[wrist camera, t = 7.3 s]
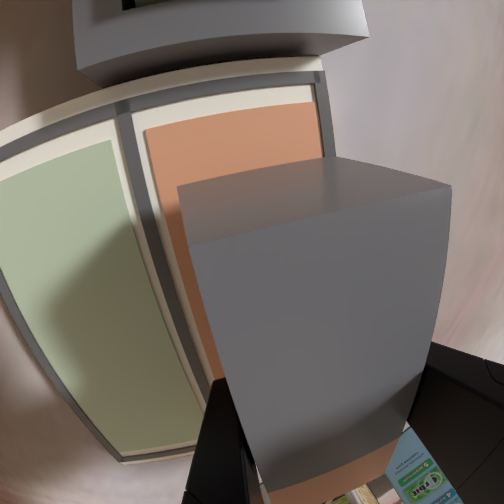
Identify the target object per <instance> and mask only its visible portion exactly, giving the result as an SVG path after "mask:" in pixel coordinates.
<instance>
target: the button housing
mask: <svg viewBox="0 0 504 504" xmlns="http://www.w3.org/2000/svg"><path fill="white" fill-rule="evenodd" d="M72 18H73V34H74V46H75V56H76V65H77V70H78V71H79V72H81V73H82V74H83V75H85V76H86V77H88V78H89V79H91V80H92V81H94V82H95V83H96V84H98V85H99V86H101V87H102V88H103V87H107V86H110V85H113V84H117V83H120V82H124V81H127V80H131V79H135V78H139V77H143V76H147V75H151V74H155V73H160V72H164V71H169V70H174V69H179V68H184V67H190V66H195V65H201V64H208V63H215V62H222V61H230V60H239V59H248V58H260V57H275V56H299V55H323V54H325V53H328V52H330V51H333V50H335V49H338V48H340V47H343V46H346V45H349V44H351V43H354V42H357V41H360V40H363V39H366V38H369V37H370V36H369V31H368V27H367V22H366V18H365V14H364V10H363V6H362V2H361V0H173V1H167V2H161V3H156V4H151V5H146V6H142V7H138V8H133V9H130V7H129V0H72Z"/></svg>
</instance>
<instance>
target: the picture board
mask: <svg viewBox="0 0 504 504" xmlns="http://www.w3.org/2000/svg"><path fill="white" fill-rule="evenodd" d="M329 156H335V157H336V151H335V142H334V133H333V125H332V117H331V110H330V103H329V96H328V89H327V83H326V77H325V71H323V70H322V64H321V59H320V57H282V58H266V59H253V60H243V61H234V62H226V63H218V64H211V65H205V66H198V67H193V68H187V69H182V70H176V71H172V72H167V73H162V74H158V75H153V76H149V77H145V78H141V79H137V80H133V81H129V82H126V83H122V84H119V85H115V86H112V87H108V88H105V89H102V90H99V91H96V92H93V93H90V94H87V95H84V96H81V97H78V98H75V99H72V100H70V101H67V102H64V103H62V104H59V105H57V106H54V107H52V108H49V109H47V110H44V111H42V112H40V113H37V114H35V115H33V116H31V117H28V118H26V119H24V120H22V121H20V122H18V123H15V124H13V125H11V126H9V127H7V128H5V129H3V130H1V131H0V293H1V295H2V297H3V299H4V301H5V303H6V305H7V307H8V309H9V311H10V313H11V315H12V317H13V319H14V321H15V323H16V325H17V326H18V328H19V330H20V332H21V334H22V335H23V337H24V339H25V341H26V342H27V344H28V346H29V347H30V349H31V351H32V352H33V354H34V356H35V357H36V359H37V360H38V362H39V363H40V365H41V367H42V368H43V370H44V371H45V373H46V374H47V376H48V377H49V378H50V380H51V381H52V383H53V384H54V386H55V387H56V388H57V390H58V391H59V393H60V394H61V395H62V397H63V398H64V399H65V401H66V402H67V403H68V405H69V406H70V407H71V409H72V410H73V411H74V412H75V414H76V415H77V416H78V417H79V419H80V420H81V421H82V422H83V423H84V425H85V426H86V427H87V428H88V429H89V431H90V432H91V433H92V434H93V435H94V436H95V437H96V439H97V440H98V441H99V442H100V443H101V444H102V445H103V446H104V447H105V448H106V450H107V451H108V452H109V453H110V454H111V455H112V456H113V457H114V458H115V459H116V460H117V461H118V462H119V463H120V462H121V463H122V464H123V465H128V464H137V463H145V462H152V461H159V460H165V459H171V458H177V457H183V456H188V455H193V454H194V452H195V448H196V444H197V440H198V436H199V432H200V428H201V424H202V420H203V416H204V413H205V409H206V405H207V401H208V397H209V393H210V389H211V385H212V382H213V381H214V380H215V379H219V378H223V377H225V374H224V371H223V368H222V365H221V362H220V358H219V355H218V352H217V349H216V345H215V342H214V339H213V335H212V332H211V329H210V325H209V322H208V319H207V315H206V312H205V308H204V305H203V301H202V297H201V294H200V290H199V287H198V283H197V279H196V276H195V272H194V268H193V264H192V261H191V257H190V253H189V249H188V244H187V240H186V235H185V229H184V224H183V219H182V214H181V208H180V203H179V197H178V192H177V186H180V185H184V184H188V183H193V182H197V181H201V180H206V179H210V178H215V177H219V176H224V175H229V174H233V173H238V172H243V171H248V170H253V169H258V168H263V167H269V166H274V165H280V164H285V163H291V162H297V161H303V160H309V159H316V158H322V157H329Z"/></svg>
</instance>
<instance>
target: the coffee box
mask: <svg viewBox="0 0 504 504" xmlns="http://www.w3.org/2000/svg"><path fill="white" fill-rule="evenodd" d="M260 489H261V493H262V497H263V500H264V503H265V504H271V501H270V499H269V496H268V494H267V491H266V489H265V486H264V484H261V485H260ZM321 504H379V502H378V500H377V499H376V497H375V495H374V494H373V492H372V491H371V489H370V487H369V486H368V484H365V485H363V486H360V487H358V488H356V489H354V490H352V491H350V492H348V493H345V494H343V495H341V496H338V497H336V498H334V499H331V500H329V501H326V502H324V503H321Z"/></svg>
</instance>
